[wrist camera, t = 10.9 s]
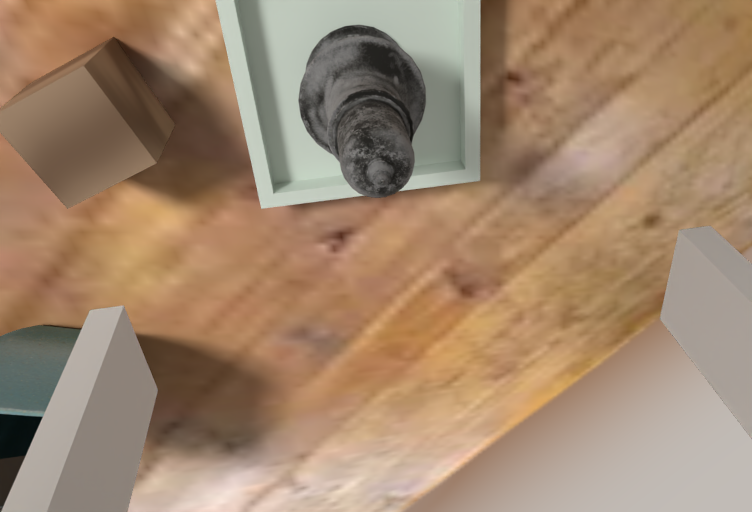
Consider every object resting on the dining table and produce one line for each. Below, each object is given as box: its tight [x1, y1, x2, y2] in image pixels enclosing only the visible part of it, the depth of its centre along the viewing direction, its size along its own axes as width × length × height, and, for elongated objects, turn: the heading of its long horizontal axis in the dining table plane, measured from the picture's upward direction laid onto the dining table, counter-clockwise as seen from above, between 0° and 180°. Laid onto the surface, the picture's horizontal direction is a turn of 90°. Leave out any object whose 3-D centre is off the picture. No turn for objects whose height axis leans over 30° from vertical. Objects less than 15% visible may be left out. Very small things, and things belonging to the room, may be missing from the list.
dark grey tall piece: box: [298, 25, 426, 198], centre depth 26 cm, size 6×6×12 cm
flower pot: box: [0, 325, 81, 459], centre depth 36 cm, size 9×9×9 cm
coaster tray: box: [216, 0, 480, 209], centre depth 31 cm, size 12×12×2 cm
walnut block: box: [0, 37, 175, 209], centre depth 30 cm, size 5×5×5 cm
